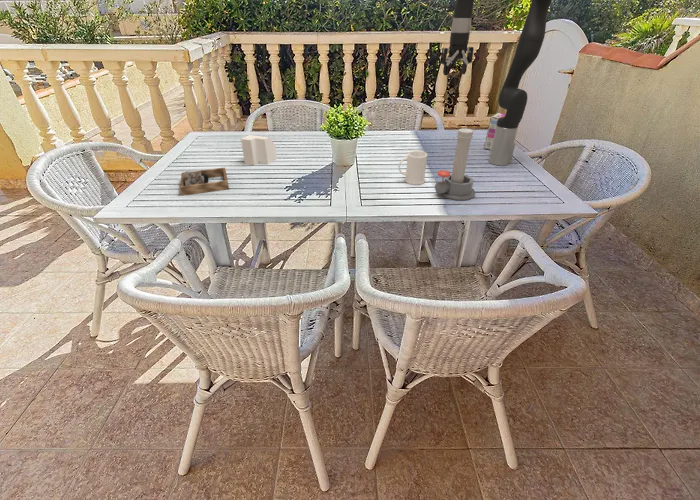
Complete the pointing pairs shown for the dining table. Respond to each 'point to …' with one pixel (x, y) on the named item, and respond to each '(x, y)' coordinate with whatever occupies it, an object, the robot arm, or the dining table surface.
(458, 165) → the pipe
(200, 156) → the dining table surface
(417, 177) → the mug
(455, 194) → the valve socket
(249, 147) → the corner bracket
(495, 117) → the candy bar box
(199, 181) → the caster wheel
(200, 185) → the parts corral
